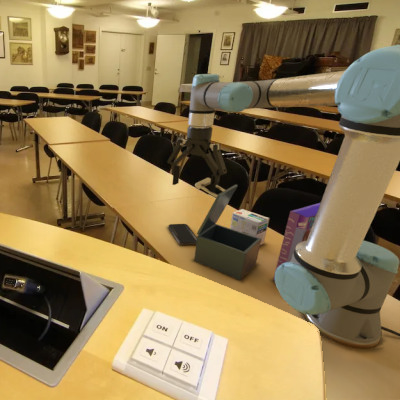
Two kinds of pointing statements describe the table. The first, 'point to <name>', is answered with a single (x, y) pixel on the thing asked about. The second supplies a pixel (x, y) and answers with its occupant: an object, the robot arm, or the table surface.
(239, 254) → the dark green box
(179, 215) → the table surface
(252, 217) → the light bulb box
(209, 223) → the lid
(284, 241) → the cereal box
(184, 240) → the phone
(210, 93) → the robot arm
